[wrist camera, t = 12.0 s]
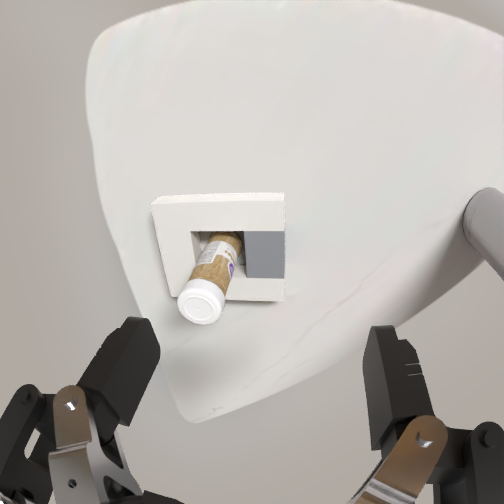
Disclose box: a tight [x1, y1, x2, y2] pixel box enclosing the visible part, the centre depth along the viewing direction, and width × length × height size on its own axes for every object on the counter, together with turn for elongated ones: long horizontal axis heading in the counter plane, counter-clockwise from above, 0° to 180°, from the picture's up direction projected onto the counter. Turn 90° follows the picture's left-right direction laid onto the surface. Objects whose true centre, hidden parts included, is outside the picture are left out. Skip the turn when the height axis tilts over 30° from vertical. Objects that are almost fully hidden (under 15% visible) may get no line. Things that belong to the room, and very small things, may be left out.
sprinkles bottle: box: [177, 231, 242, 325], centre depth 33 cm, size 5×5×14 cm
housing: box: [151, 193, 285, 301], centre depth 37 cm, size 16×14×3 cm
